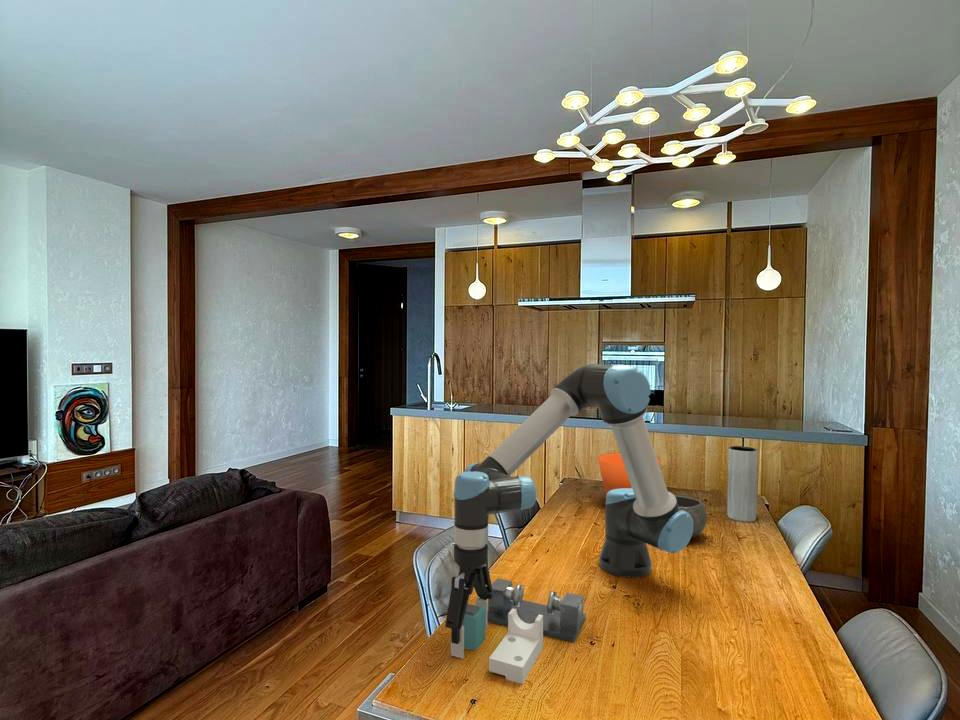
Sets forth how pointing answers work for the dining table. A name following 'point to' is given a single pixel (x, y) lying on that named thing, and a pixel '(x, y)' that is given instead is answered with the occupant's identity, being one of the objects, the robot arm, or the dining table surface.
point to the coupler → (474, 627)
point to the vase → (742, 483)
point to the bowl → (694, 512)
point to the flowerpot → (614, 472)
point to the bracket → (518, 648)
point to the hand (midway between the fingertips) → (469, 641)
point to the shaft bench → (538, 610)
